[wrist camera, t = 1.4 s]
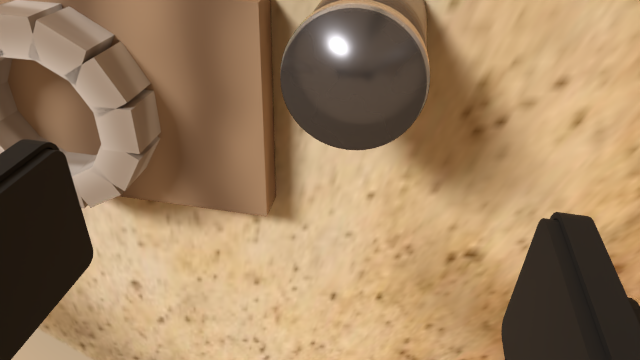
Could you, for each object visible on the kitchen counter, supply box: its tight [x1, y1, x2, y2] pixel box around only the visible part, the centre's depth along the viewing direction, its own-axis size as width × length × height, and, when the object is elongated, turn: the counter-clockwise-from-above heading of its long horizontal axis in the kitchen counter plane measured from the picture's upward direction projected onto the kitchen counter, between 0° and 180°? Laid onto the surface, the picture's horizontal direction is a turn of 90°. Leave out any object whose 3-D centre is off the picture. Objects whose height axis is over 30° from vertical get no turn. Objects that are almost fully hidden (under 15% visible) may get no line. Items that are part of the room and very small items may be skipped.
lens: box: [280, 0, 430, 150], centre depth 20 cm, size 5×5×8 cm
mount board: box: [0, 0, 276, 216], centre depth 26 cm, size 18×12×4 cm, turn 88°
